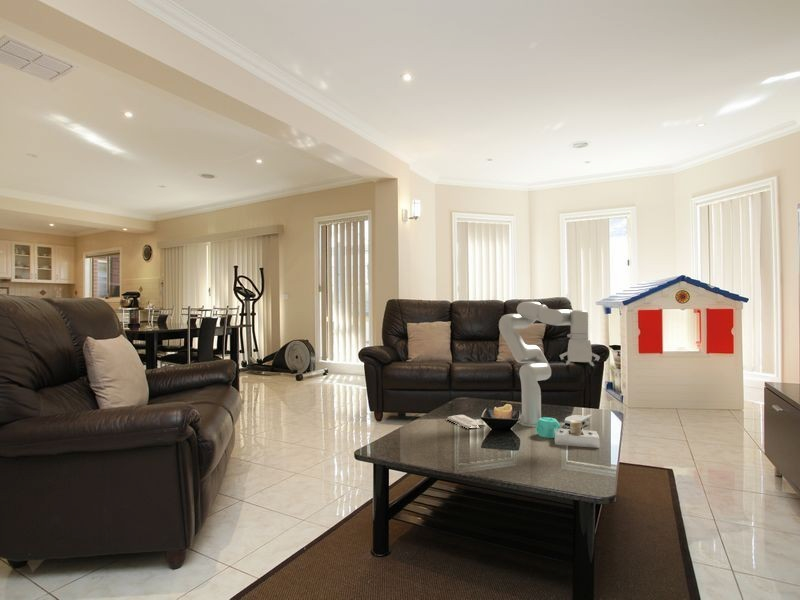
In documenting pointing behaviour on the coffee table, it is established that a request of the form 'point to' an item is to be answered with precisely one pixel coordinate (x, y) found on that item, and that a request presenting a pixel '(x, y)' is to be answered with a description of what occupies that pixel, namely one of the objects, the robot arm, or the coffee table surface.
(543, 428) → the decorative dice
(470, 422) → the newspaper
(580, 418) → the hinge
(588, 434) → the rail block
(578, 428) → the beech peg
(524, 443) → the coffee table surface
